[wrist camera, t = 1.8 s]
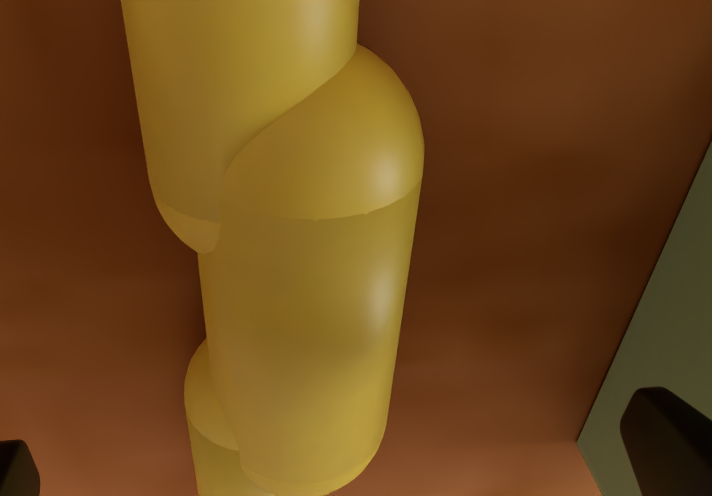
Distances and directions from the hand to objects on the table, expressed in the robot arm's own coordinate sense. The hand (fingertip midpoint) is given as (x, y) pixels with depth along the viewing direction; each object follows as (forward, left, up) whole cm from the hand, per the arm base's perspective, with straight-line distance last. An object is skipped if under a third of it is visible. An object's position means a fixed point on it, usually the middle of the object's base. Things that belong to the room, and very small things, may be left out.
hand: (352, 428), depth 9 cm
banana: (0, +1, -5) cm, 5 cm away
